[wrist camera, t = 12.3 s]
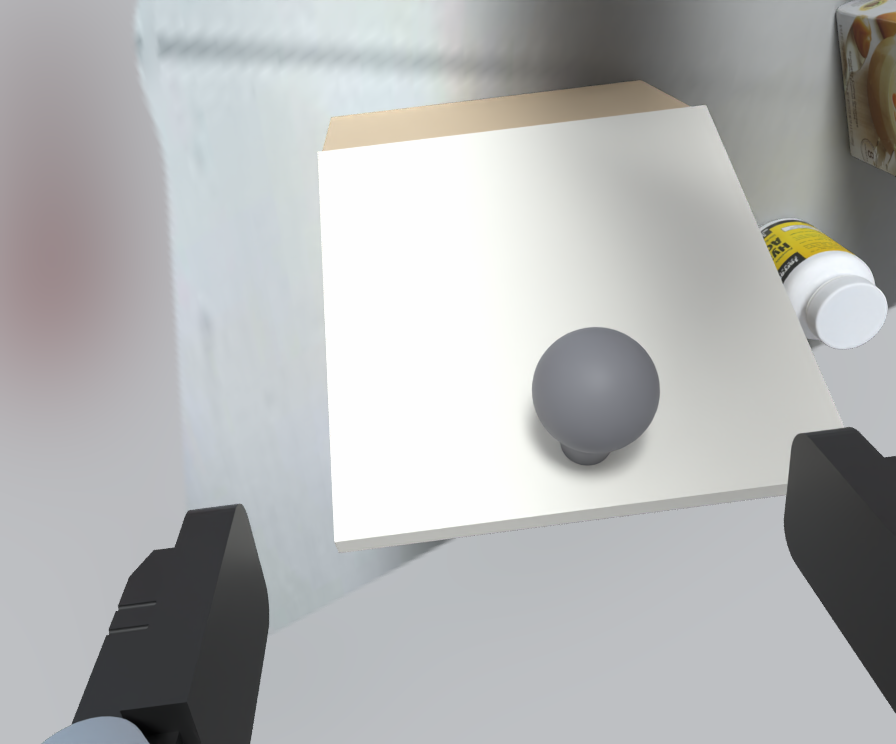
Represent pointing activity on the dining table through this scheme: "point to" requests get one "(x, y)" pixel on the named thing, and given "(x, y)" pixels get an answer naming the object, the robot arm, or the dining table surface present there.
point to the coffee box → (870, 79)
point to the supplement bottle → (825, 284)
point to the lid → (553, 331)
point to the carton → (496, 114)
